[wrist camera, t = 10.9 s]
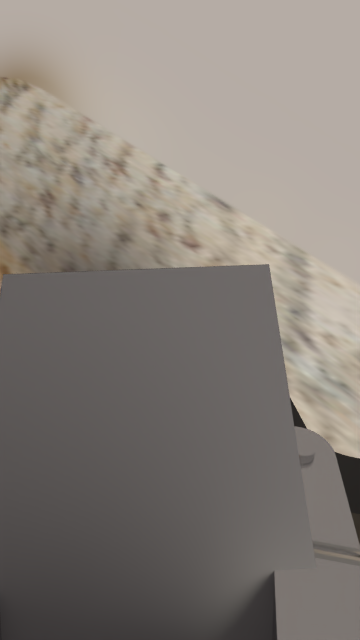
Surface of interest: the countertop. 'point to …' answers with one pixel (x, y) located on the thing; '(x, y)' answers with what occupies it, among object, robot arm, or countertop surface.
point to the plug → (145, 456)
